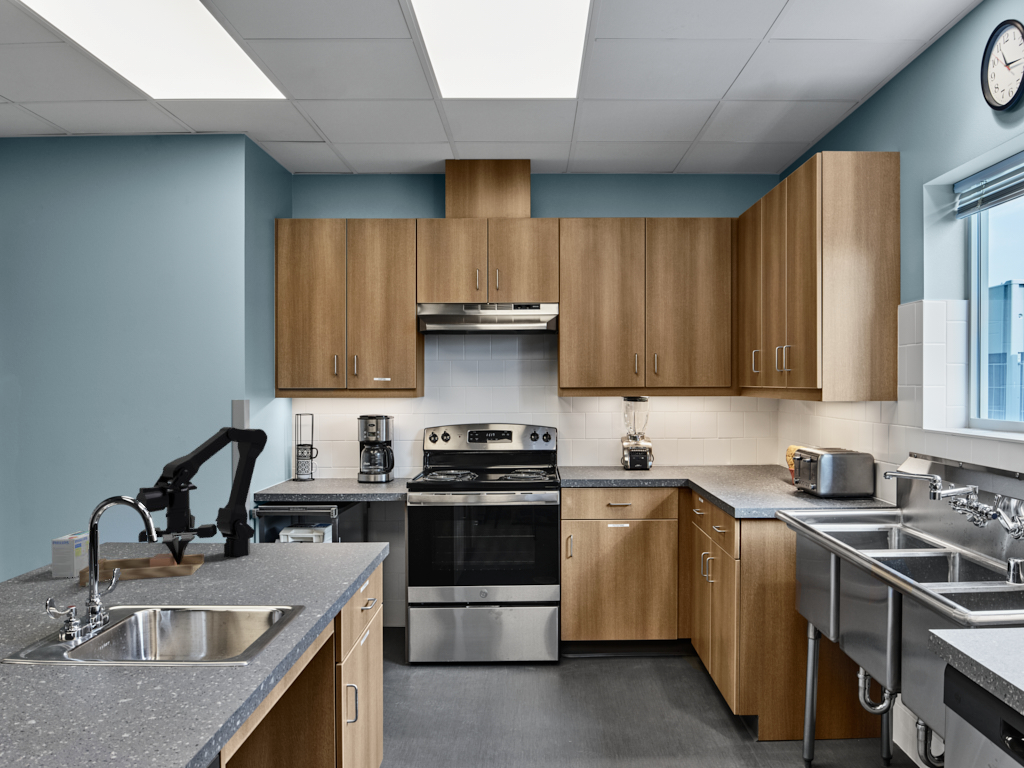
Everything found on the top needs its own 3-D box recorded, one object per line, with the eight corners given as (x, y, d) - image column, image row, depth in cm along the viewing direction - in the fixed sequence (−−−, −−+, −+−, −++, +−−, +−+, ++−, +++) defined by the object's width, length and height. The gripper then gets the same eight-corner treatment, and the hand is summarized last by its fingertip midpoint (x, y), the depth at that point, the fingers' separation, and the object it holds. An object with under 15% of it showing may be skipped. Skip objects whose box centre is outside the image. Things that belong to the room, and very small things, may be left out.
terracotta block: (177, 567, 181) (176, 552, 181) (169, 573, 175) (169, 558, 175) (157, 568, 180) (157, 553, 180) (149, 574, 174) (149, 559, 174)
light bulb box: (78, 567, 186) (78, 530, 186) (101, 567, 186) (100, 530, 186) (50, 578, 176) (50, 539, 176) (74, 578, 175) (74, 538, 176)
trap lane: (204, 565, 185) (203, 551, 186) (191, 578, 173) (191, 563, 173) (100, 573, 180) (100, 558, 180) (79, 586, 167) (79, 571, 167)
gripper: (220, 501, 188) (221, 554, 188) (151, 504, 184) (151, 559, 184) (211, 507, 177) (212, 564, 177) (137, 511, 173) (138, 569, 173)
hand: (179, 563), depth 178 cm, fingers closed
